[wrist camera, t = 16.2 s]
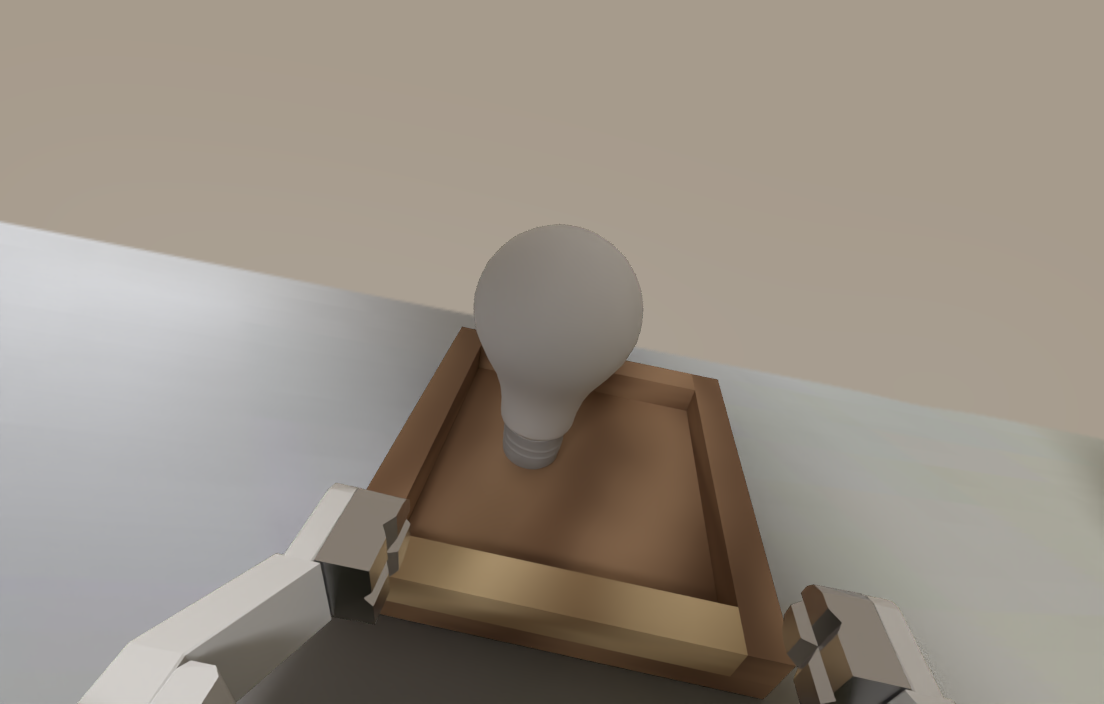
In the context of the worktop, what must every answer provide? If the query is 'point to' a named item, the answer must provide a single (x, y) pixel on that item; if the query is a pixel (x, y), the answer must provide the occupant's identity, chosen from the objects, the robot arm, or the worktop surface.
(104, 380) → the worktop surface
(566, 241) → the lightbulb
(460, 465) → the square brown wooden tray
